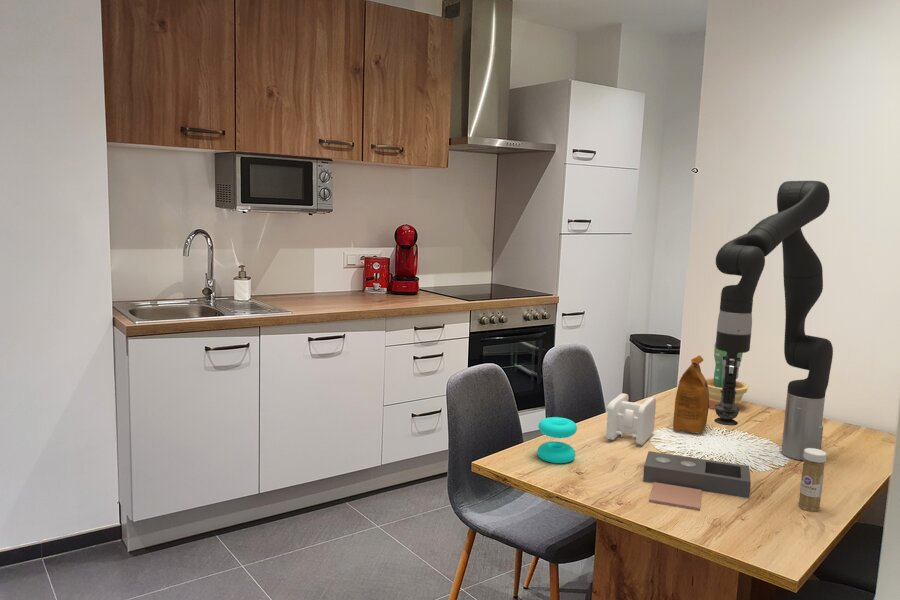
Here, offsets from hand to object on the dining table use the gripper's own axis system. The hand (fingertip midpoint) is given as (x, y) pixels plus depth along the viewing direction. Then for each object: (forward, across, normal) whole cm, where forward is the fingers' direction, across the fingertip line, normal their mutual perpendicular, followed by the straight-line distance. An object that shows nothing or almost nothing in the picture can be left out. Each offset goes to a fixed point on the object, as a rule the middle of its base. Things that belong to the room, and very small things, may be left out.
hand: (727, 401), depth 170 cm
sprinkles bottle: (+21, -5, -19) cm, 29 cm away
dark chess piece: (+5, 0, 0) cm, 5 cm away
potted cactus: (+21, +73, 0) cm, 76 cm away
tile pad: (+21, -12, +10) cm, 26 cm away
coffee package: (+21, +43, +9) cm, 49 cm away
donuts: (+21, +1, +41) cm, 46 cm away
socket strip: (+21, 0, +6) cm, 22 cm away
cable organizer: (+21, +26, +25) cm, 42 cm away
